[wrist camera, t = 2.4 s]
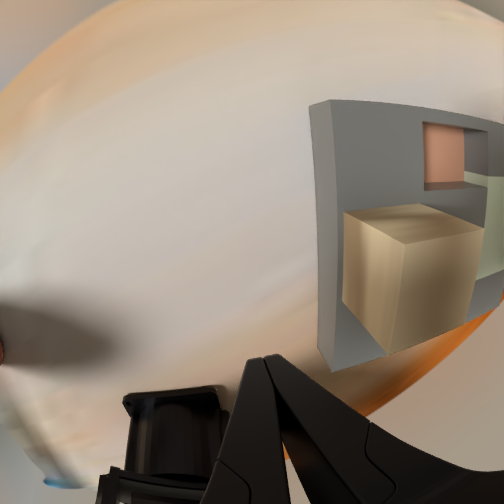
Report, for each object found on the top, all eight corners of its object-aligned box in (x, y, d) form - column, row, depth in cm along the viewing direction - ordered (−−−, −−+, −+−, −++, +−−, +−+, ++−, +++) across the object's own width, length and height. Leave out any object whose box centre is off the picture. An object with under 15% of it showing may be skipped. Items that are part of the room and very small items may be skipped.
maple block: (341, 300, 14) (388, 355, 10) (343, 211, 12) (404, 244, 8) (412, 283, 14) (464, 324, 10) (419, 203, 13) (484, 228, 9)
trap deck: (317, 347, 18) (345, 396, 14) (308, 106, 13) (353, 92, 9) (480, 293, 20) (514, 316, 16) (496, 126, 15) (541, 132, 11)
